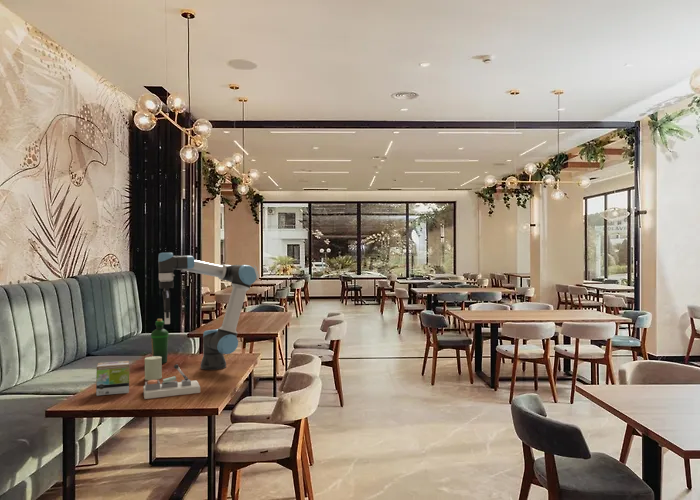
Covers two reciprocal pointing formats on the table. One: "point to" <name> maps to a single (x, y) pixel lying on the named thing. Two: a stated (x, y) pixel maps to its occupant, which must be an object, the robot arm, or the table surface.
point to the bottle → (160, 341)
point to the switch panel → (170, 388)
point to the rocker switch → (169, 379)
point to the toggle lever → (180, 372)
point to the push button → (152, 381)
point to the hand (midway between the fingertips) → (167, 323)
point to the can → (153, 368)
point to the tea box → (112, 378)
